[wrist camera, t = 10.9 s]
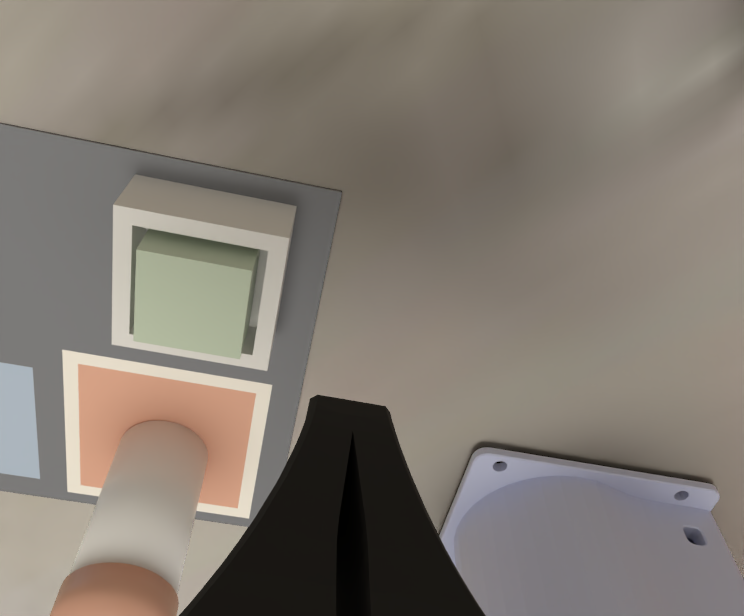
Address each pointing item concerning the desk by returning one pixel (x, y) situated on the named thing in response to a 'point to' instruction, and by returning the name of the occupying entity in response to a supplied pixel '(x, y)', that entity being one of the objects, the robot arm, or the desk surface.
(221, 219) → the button housing
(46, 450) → the picture sheet
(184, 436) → the cylinder
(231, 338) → the button
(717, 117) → the desk surface
